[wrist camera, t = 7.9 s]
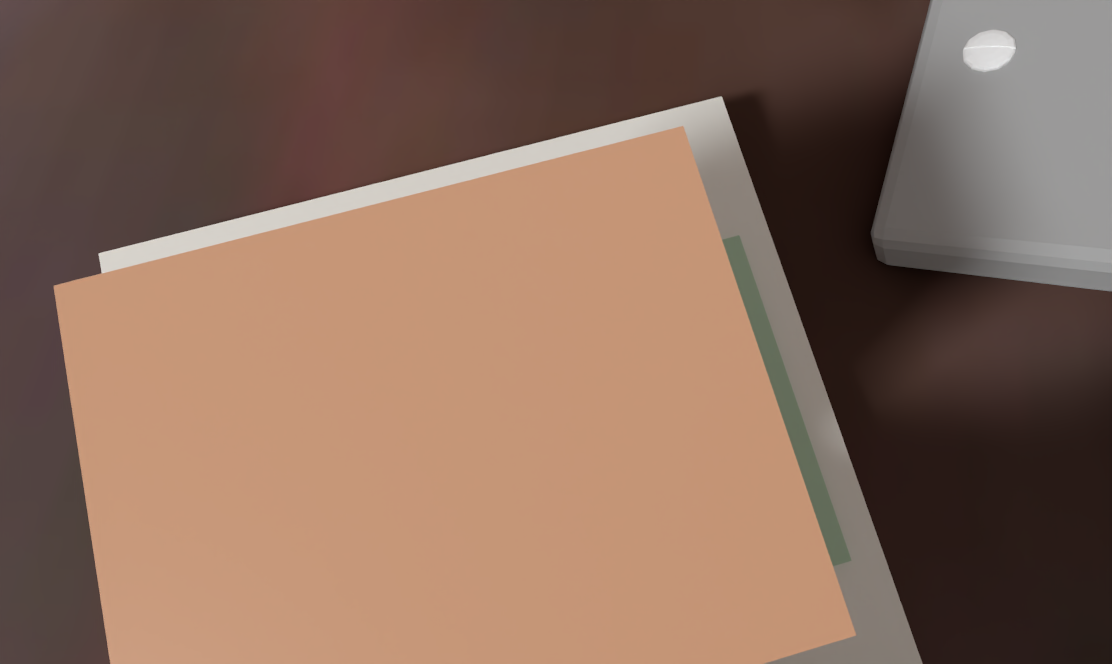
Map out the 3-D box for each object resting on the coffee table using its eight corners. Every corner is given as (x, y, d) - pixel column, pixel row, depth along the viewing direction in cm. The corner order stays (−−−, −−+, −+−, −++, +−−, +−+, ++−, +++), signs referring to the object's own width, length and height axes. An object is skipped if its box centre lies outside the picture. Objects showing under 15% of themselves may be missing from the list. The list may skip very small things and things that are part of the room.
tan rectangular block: (608, 338, 14) (683, 125, 6) (676, 565, 13) (857, 635, 6) (329, 414, 14) (54, 285, 6) (381, 652, 13) (139, 854, 5)
